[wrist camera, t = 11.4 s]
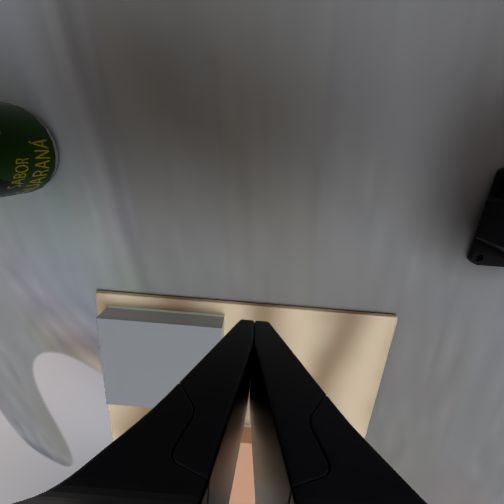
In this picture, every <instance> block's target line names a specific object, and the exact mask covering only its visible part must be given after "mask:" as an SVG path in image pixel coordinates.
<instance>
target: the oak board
mask: <svg viewBox="0 0 504 504" xmlns="http://www.w3.org/2000/svg"><path fill="white" fill-rule="evenodd" d="M95 294H96V302H97V311H98V316H99V315H100V314H101V313H102V312H103V311H104V310H105V309H106V308H107V307H108V306H109V305H110V306H123V307H135V308H147V309H159V310H171V311H183V312H196V313H208V314H220V315H225V325H224V336H225V335H226V334H227V333H228V332H229V331H230V330H231V329H232V328H233V327H234V326H235V325H236V324H237V323H238V322H239V321H240V320H241V319H244V320H253V321H254V324H255V321H267V322H269V323H270V324H271V325H272V326H273V328H274V329H275V330H276V332H277V333H278V334H279V335H280V337H281V338H282V339H283V340H284V342H285V343H286V344H287V345H288V347H289V348H290V349H291V351H292V352H293V353H294V354H295V356H296V357H297V358H298V359H299V361H300V362H301V363H302V364H303V366H304V367H305V368H306V369H307V371H308V372H309V373H310V375H311V376H312V377H313V378H314V380H315V381H316V382H317V383H318V385H319V386H320V387H321V388H322V390H323V391H324V392H325V394H326V396H328V397H329V398H330V400H331V401H332V402H333V403H334V405H335V406H336V407H337V408H338V410H339V411H340V412H341V413H342V414H343V416H344V417H345V418H346V419H347V420H348V422H349V423H350V424H351V425H352V426H353V427H354V428H355V429H356V430H357V432H358V433H359V434H360V435H361V436H362V437H363V438H364V439H365V435H366V432H367V428H368V425H369V421H370V417H371V414H372V410H373V406H374V403H375V399H376V396H377V392H378V388H379V385H380V381H381V377H382V374H383V370H384V367H385V363H386V359H387V356H388V352H389V348H390V345H391V341H392V338H393V334H394V330H395V327H396V323H397V319H398V317H397V316H396V315H393V314H381V313H369V312H356V311H344V310H332V309H320V308H307V307H295V306H283V305H271V304H258V303H246V302H234V301H222V300H209V299H197V298H185V297H173V296H160V295H148V294H136V293H124V292H112V291H99V290H98V291H97V292H96V293H95ZM249 393H250V390H249ZM151 409H153V408H147V407H135V406H123V405H111V404H109V412H110V421H111V429H112V438H113V441H115V440H116V439H117V438H118V437H119V436H121V435H122V434H123V433H124V432H126V431H127V430H128V429H129V428H130V427H132V426H133V425H134V424H135V423H136V422H138V421H139V420H140V419H141V418H142V417H143V416H144V415H146V414H147V413H148V412H149V411H150V410H151ZM244 424H250V407H249V400H248V406H247V412H246V417H245V422H244Z"/></svg>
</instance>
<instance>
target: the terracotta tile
mask: <svg viewBox="0 0 504 504" xmlns="http://www.w3.org/2000/svg"><path fill="white" fill-rule="evenodd" d="M229 504H255V489H254V473H253V457H252V440H251V424H244V427H243V433H242V438H241V443H240V448H239V454H238V459H237V464H236V469H235V474H234V480H233V485H232V490H231V495H230V501H229Z"/></svg>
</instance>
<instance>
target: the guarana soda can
mask: <svg viewBox="0 0 504 504" xmlns="http://www.w3.org/2000/svg"><path fill="white" fill-rule="evenodd" d="M58 157H59V154H58V150H57V146H56V142H55V140H54V138H53V136H52V135H51V133H50V131H49V130H48V129H47V128H46V127H45V125H44V124H43V123H42V122H41V121H40V120H39V119H37V118H36V117H35V116H34V115H32V114H31V113H29V112H28V111H26V110H24V109H23V108H21V107H18V106H15V105H12V104H8V103H4V102H0V197H6V196H11V195H17V194H22V193H28V192H32V191H35V190H37V189H40V188H42V187H43V186H44V185H45V184H46V183H47V182H48V181H49V180H50V179H51V178H52V177H53V176H54V174H55V171H56V169H57V167H58Z"/></svg>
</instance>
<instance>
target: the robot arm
mask: <svg viewBox="0 0 504 504" xmlns="http://www.w3.org/2000/svg"><path fill="white" fill-rule="evenodd" d="M478 255H479V257H478V258H477V259H476V257H477V256H478ZM468 259H469V261H470V262H472V263H474V264H476V265H487V266H499V267H504V167H503V168H501V169H500V170H499V171H498V172H497V173H496V176H495V179H494V182H493V185H492V188H491V190H490V193H489V196H488V199H487V201H486V204H485V207H484V210H483V213H482V216H481V219H480V222H479V225H478V228H477V231H476V234H475V237H474V240H473V243H472V246H471V249H470V252H469V255H468ZM249 390H250V393H249ZM248 400H249V407H250V424H251V440H252V457H253V473H254V489H255V504H427V503H426V502H425V501H424V500H423V499H422V498H421V497H420V496H419V495H418V494H417V493H416V492H415V491H414V490H413V489H412V488H411V487H410V486H409V485H408V484H407V483H406V482H405V481H404V480H403V479H402V478H401V477H400V476H399V474H398V473H397V472H396V471H395V470H394V469H393V468H392V467H391V466H390V465H389V464H388V463H387V462H386V461H385V460H384V459H383V458H382V457H381V456H380V455H379V454H378V453H377V452H376V451H375V450H374V449H373V448H372V447H371V446H370V444H369V443H368V442H367V441H366V440H365V439H364V438H363V437H362V436H361V435H360V434H359V433H358V432H357V430H356V429H355V428H354V427H353V426H352V425H351V424H350V423H349V422H348V420H347V419H346V418H345V417H344V416H343V414H342V413H341V412H340V411H339V410H338V408H337V407H336V406H335V405H334V403H333V402H332V401H331V400H330V398H329V397H328V396H326V394H325V392H324V391H323V390H322V388H321V387H320V386H319V385H318V383H317V382H316V381H315V380H314V378H313V377H312V376H311V375H310V373H309V372H308V371H307V369H306V368H305V367H304V366H303V364H302V363H301V362H300V361H299V359H298V358H297V357H296V356H295V354H294V353H293V352H292V351H291V349H290V348H289V347H288V345H287V344H286V343H285V342H284V340H283V339H282V338H281V337H280V335H279V334H278V333H277V332H276V330H275V329H274V328H273V326H272V325H271V324H270V323H269V322H267V321H255V324H254V321H253V320H244V319H241V320H240V321H239V322H238V323H237V324H236V325H235V326H234V327H233V328H232V329H231V330H230V331H229V332H228V333H227V334H226V335H225V336H224V337H223V338H222V339H221V340H220V341H219V342H218V343H217V344H216V345H215V346H214V347H213V348H212V349H211V350H210V351H209V352H208V353H207V354H206V356H205V357H204V358H203V359H202V360H201V361H200V362H199V363H198V364H197V365H196V366H195V367H194V368H193V369H192V370H191V371H190V372H189V373H188V374H187V375H186V376H185V377H184V378H183V379H182V380H181V381H180V382H179V384H177V385H176V386H175V387H174V388H173V389H172V390H171V391H170V392H169V393H168V394H167V395H166V396H165V397H164V398H163V399H162V400H161V401H160V402H159V403H158V404H157V405H156V406H155V407H154V408H153V409H151V410H150V411H149V412H148V413H147V414H146V415H144V416H143V417H142V418H141V419H140V420H139V421H138V422H136V423H135V424H134V425H133V426H132V427H130V428H129V429H128V430H127V431H126V432H124V433H123V434H122V435H121V436H119V437H118V438H117V439H116V440H115V441H113V442H112V443H111V444H110V445H108V446H107V447H106V448H105V449H104V450H102V451H101V452H100V453H99V454H98V455H96V456H95V457H94V458H93V459H91V460H90V461H89V462H88V463H87V464H85V465H84V466H83V467H82V468H80V469H79V470H78V471H76V472H75V473H74V474H73V475H71V476H70V477H69V478H67V479H66V480H64V481H63V482H61V483H60V484H58V485H56V486H55V487H53V488H51V489H49V490H48V491H46V492H44V493H41V494H39V495H37V496H35V497H32V498H29V499H26V500H23V501H20V502H16V503H13V504H229V501H230V495H231V490H232V485H233V480H234V474H235V469H236V464H237V459H238V454H239V448H240V443H241V438H242V433H243V427H244V422H245V417H246V412H247V406H248Z"/></svg>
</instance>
